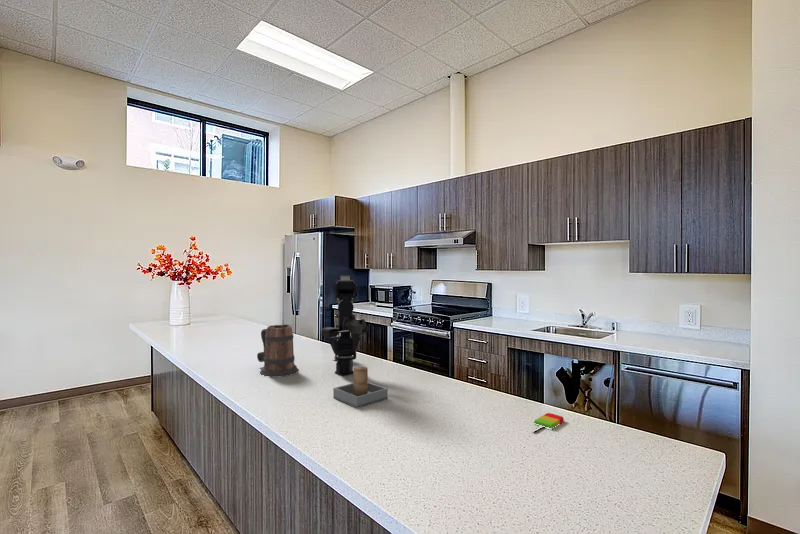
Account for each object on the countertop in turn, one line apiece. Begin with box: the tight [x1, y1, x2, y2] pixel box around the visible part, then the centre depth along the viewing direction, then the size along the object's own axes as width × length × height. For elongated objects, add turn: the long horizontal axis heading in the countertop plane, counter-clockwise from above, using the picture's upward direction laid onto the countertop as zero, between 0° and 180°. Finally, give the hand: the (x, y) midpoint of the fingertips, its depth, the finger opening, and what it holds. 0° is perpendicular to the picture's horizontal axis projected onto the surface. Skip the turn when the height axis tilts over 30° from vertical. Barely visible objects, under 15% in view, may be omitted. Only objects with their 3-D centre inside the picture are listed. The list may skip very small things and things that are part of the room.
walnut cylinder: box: [352, 366, 369, 396], centre depth 142 cm, size 5×5×10 cm
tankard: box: [256, 324, 300, 377], centre depth 178 cm, size 24×17×20 cm
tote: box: [332, 381, 389, 409], centre depth 142 cm, size 14×14×4 cm
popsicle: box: [533, 412, 565, 428], centre depth 119 cm, size 6×15×2 cm, turn 134°
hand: (345, 352), depth 157 cm, fingers open, 9 cm apart
